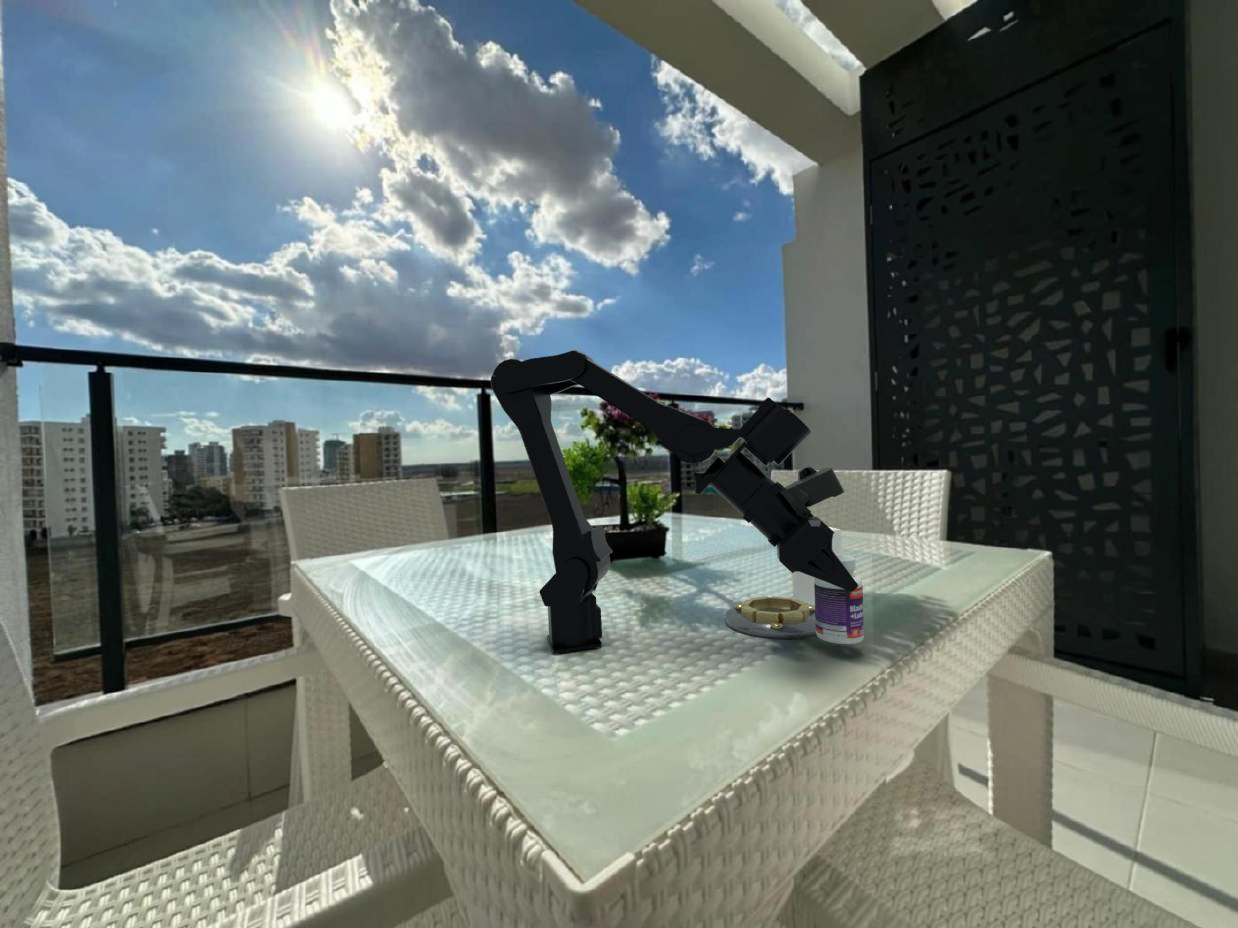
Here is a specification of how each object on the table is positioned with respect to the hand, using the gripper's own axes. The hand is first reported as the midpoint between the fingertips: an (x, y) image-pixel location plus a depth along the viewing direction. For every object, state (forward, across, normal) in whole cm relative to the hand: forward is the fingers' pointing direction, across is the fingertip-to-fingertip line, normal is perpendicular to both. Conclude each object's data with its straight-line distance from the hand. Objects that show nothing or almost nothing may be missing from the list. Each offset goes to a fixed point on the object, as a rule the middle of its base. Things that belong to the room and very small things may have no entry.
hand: (850, 582), depth 62 cm
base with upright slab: (+6, +23, +6) cm, 25 cm away
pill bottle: (+4, 0, +6) cm, 7 cm away
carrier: (0, +11, +12) cm, 16 cm away
